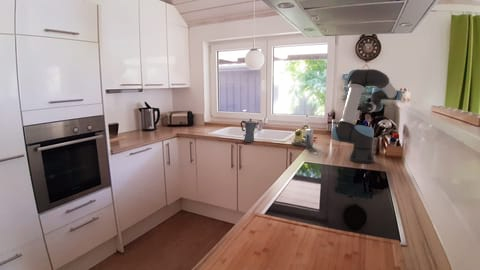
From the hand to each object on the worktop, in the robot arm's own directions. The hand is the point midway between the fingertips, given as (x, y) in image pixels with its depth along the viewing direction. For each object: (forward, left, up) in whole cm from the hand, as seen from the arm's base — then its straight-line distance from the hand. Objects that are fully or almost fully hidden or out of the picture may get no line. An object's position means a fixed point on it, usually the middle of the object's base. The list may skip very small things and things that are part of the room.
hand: (351, 108), depth 209 cm
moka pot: (-7, +81, -32) cm, 88 cm away
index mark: (-23, +20, -32) cm, 44 cm away
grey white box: (-11, +28, -31) cm, 44 cm away
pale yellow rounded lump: (+3, +39, -32) cm, 51 cm away
